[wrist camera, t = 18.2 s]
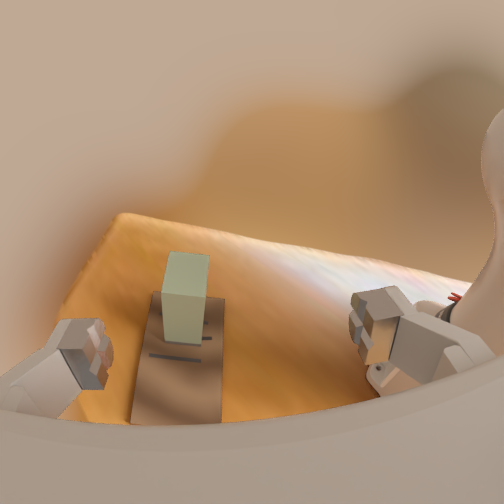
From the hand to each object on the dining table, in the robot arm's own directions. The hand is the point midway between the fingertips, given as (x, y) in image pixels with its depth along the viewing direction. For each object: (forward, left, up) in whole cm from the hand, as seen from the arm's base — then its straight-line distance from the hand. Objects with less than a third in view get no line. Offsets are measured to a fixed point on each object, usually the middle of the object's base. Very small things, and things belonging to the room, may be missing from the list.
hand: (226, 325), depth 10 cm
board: (-11, -7, -28) cm, 31 cm away
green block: (-15, -9, -27) cm, 32 cm away
